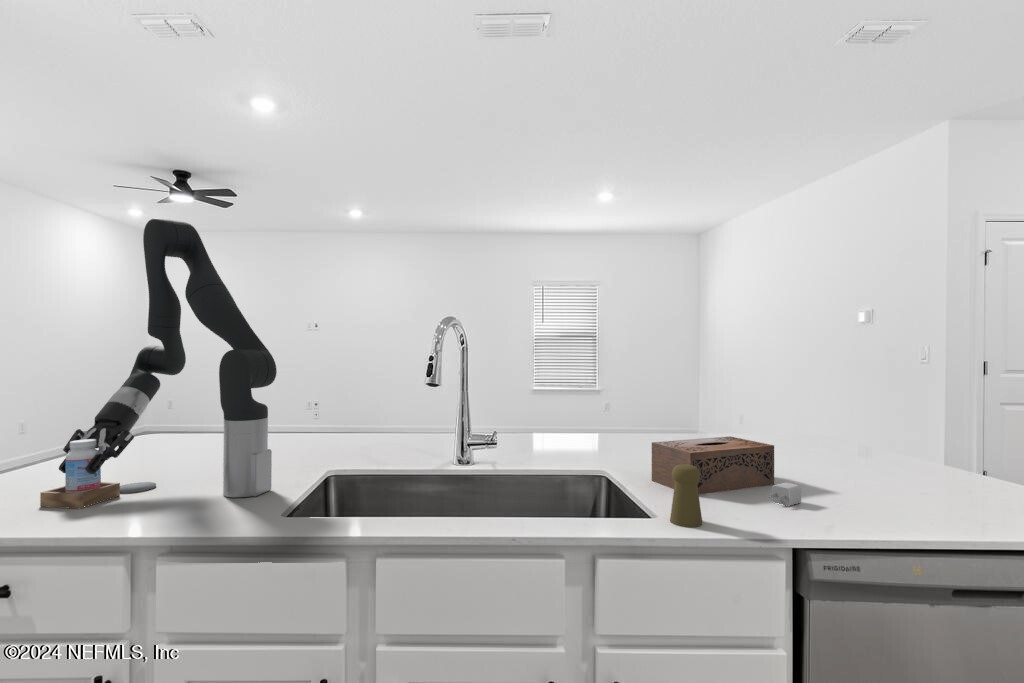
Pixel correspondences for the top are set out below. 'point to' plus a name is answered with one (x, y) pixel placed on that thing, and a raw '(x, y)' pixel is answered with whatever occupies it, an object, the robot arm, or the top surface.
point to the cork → (686, 497)
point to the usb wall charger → (786, 494)
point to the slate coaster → (136, 487)
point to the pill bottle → (81, 467)
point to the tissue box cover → (716, 462)
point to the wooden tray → (79, 496)
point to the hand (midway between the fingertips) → (76, 471)
